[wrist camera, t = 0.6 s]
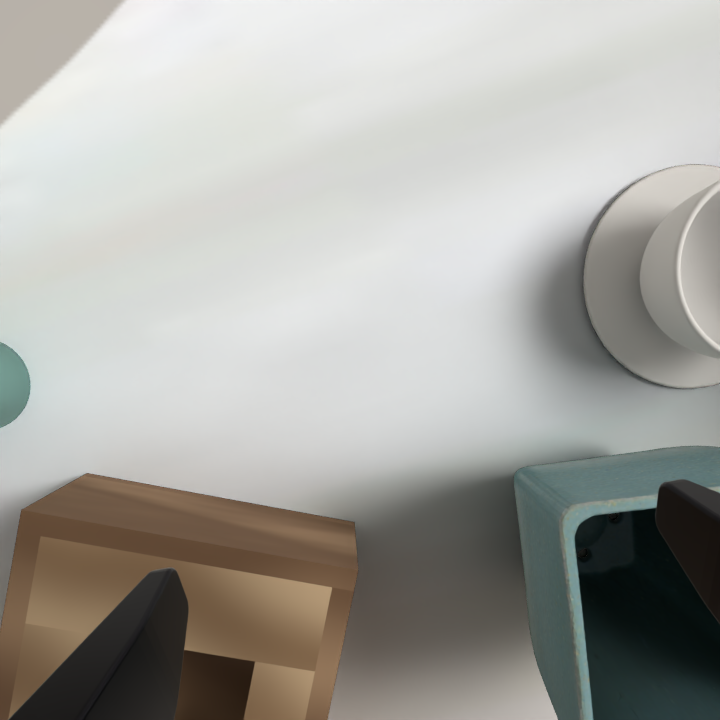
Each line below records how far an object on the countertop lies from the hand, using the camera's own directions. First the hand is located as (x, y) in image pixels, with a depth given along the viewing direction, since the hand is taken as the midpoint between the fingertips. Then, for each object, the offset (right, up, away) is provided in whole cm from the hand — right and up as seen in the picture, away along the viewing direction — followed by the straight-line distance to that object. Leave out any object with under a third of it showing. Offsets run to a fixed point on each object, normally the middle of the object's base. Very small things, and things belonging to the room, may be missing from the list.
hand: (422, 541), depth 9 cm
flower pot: (+9, -4, +14) cm, 17 cm away
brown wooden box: (-9, -10, +13) cm, 19 cm away
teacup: (+14, +7, +14) cm, 21 cm away
